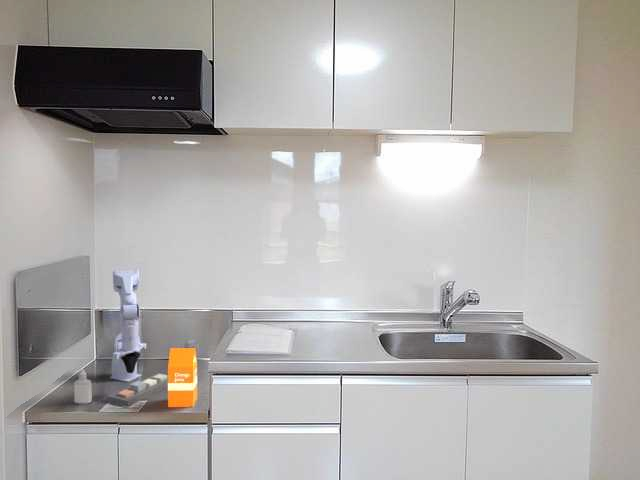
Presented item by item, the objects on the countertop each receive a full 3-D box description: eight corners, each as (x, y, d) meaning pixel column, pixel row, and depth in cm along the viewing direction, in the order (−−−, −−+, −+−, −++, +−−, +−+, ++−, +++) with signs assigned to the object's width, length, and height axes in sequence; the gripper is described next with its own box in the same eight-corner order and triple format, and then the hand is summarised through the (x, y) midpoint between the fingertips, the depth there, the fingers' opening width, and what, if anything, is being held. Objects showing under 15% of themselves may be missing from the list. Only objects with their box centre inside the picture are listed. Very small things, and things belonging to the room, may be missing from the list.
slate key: (129, 391, 179) (129, 384, 178) (137, 387, 182) (137, 380, 182) (138, 392, 177) (138, 386, 177) (145, 389, 181) (145, 382, 180)
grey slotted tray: (106, 401, 172) (106, 396, 172) (157, 377, 196) (157, 373, 196) (128, 406, 169) (127, 400, 168) (176, 381, 192) (176, 377, 192)
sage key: (152, 383, 190) (152, 377, 189) (159, 379, 193) (159, 373, 193) (160, 384, 188) (160, 378, 188) (167, 381, 192) (167, 375, 192)
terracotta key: (117, 399, 173) (117, 393, 173) (125, 395, 177) (125, 389, 177) (125, 401, 172) (125, 395, 171) (134, 397, 175) (134, 391, 175)
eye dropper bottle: (82, 406, 168) (81, 372, 167) (72, 402, 171) (72, 369, 170) (93, 401, 172) (93, 369, 171) (84, 398, 175) (83, 366, 174)
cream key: (141, 388, 184) (141, 382, 184) (149, 384, 188) (149, 378, 188) (149, 390, 183) (149, 383, 182) (157, 386, 186) (157, 380, 186)
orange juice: (172, 398, 176) (172, 345, 175) (197, 398, 177) (197, 345, 176) (167, 407, 169) (167, 351, 167) (193, 406, 169) (193, 351, 168)
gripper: (123, 343, 169) (123, 380, 170) (152, 333, 182) (152, 367, 184) (108, 340, 172) (108, 377, 173) (138, 330, 185) (138, 365, 186)
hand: (130, 372), depth 178 cm, fingers closed
